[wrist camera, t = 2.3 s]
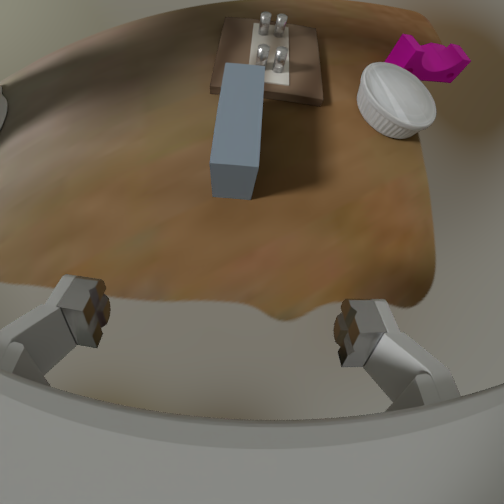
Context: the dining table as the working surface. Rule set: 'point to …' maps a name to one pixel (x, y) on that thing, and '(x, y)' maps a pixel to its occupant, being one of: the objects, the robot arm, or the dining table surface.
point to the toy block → (428, 59)
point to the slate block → (237, 132)
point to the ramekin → (394, 101)
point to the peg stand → (273, 57)
